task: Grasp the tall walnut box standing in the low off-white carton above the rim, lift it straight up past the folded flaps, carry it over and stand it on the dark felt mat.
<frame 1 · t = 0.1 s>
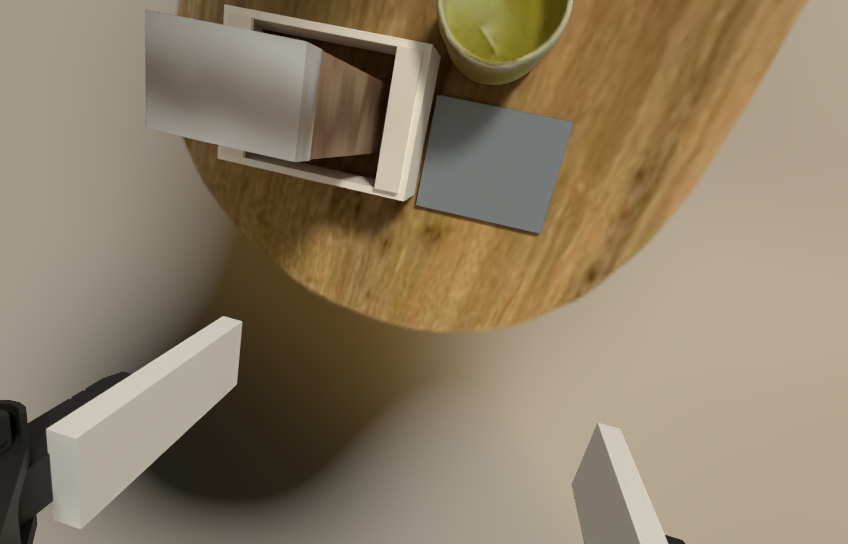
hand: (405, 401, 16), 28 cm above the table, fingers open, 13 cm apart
walnut box: (295, 101, 32), in the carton
mat: (490, 165, 40), on the table
mug: (518, 20, 36), on the table
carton: (338, 109, 40), on the table
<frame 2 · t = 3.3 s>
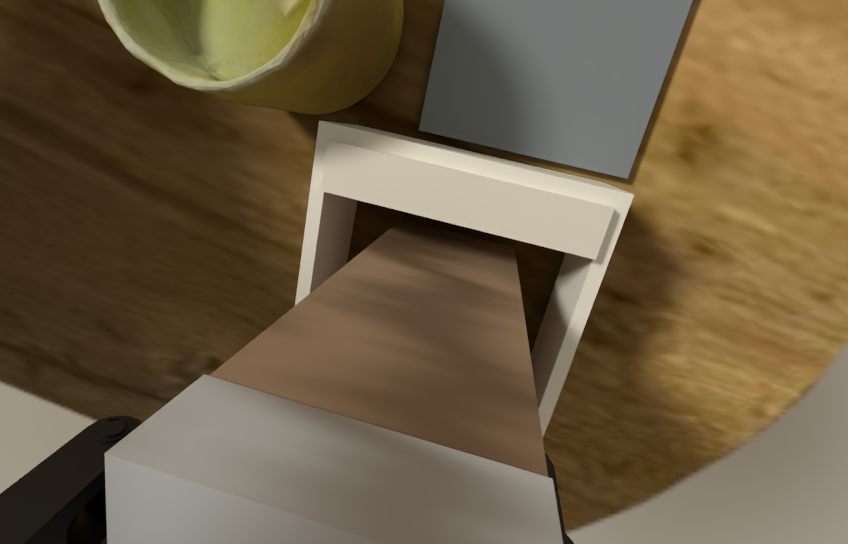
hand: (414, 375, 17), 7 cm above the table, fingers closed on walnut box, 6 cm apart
walnut box: (404, 405, 15), in the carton, touching gripper
mat: (559, 14, 19), on the table
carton: (437, 310, 24), on the table
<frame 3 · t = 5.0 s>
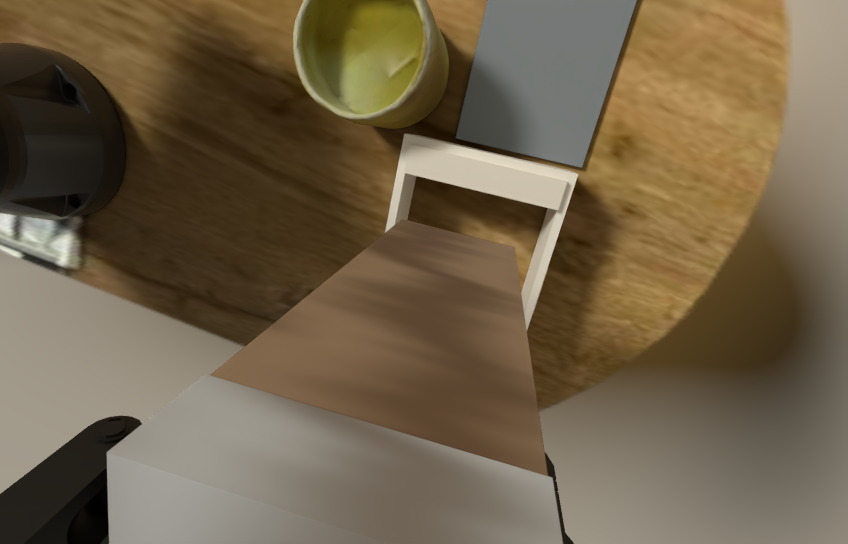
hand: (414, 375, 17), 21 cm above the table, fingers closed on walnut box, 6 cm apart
walnut box: (404, 405, 15), point 23 cm above the table, touching gripper
mat: (540, 71, 32), on the table
mug: (386, 47, 34), on the table
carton: (465, 253, 37), on the table
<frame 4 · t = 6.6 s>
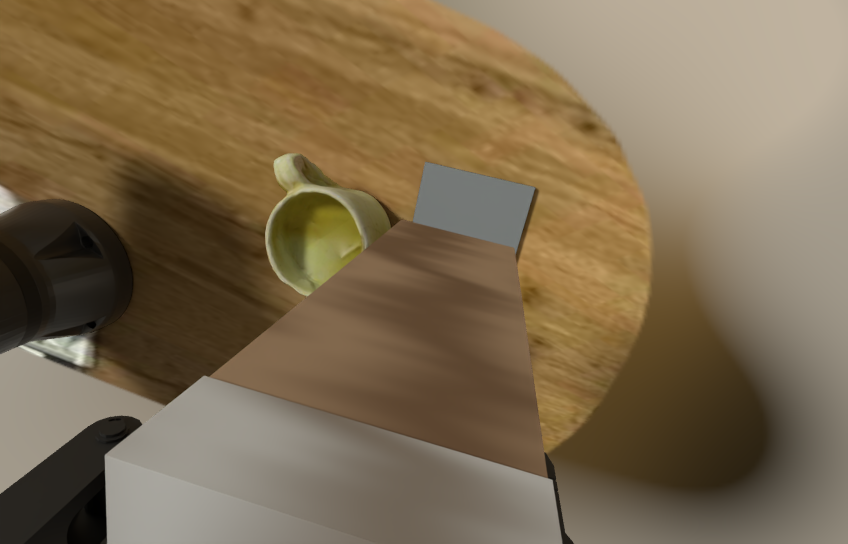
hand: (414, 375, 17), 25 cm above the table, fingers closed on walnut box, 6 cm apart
walnut box: (404, 406, 15), point 27 cm above the table, touching gripper
mat: (463, 237, 41), on the table
mug: (343, 213, 42), on the table
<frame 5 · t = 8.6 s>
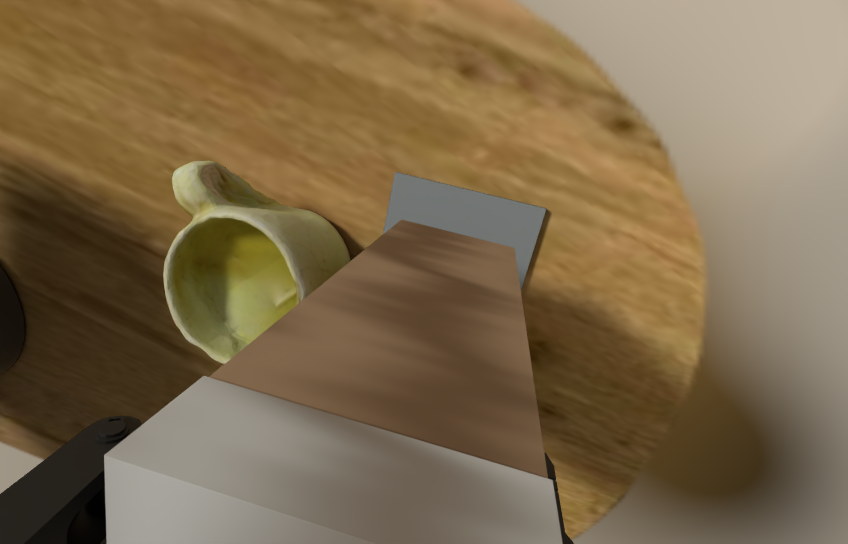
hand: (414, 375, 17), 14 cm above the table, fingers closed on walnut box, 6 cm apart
walnut box: (404, 406, 15), point 16 cm above the table, touching gripper
mat: (448, 274, 30), on the table
mug: (288, 239, 32), on the table
when the fingers open (8 cm above the table, at t = 10.0 s): walnut box stays where it is, resting on mat.
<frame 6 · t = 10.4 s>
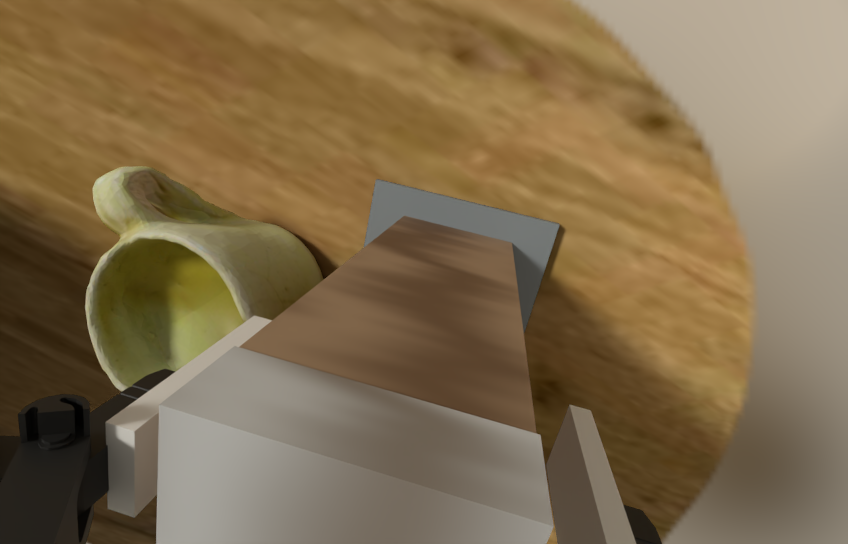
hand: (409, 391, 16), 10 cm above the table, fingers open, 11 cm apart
walnut box: (407, 389, 16), on the mat
mat: (441, 301, 25), on the table
mug: (252, 258, 27), on the table
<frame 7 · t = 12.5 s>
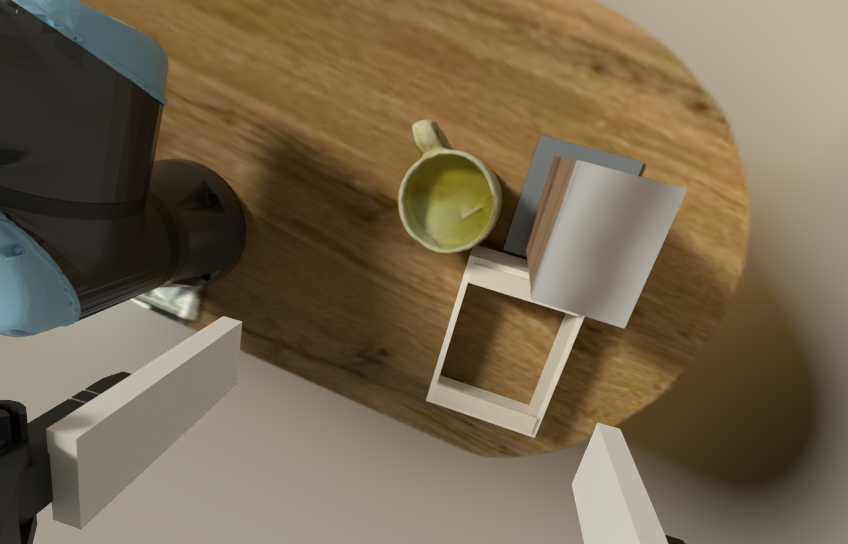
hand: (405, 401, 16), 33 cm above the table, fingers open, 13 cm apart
walnut box: (581, 223, 35), on the mat
mat: (568, 208, 44), on the table
mug: (454, 181, 45), on the table
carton: (504, 331, 49), on the table
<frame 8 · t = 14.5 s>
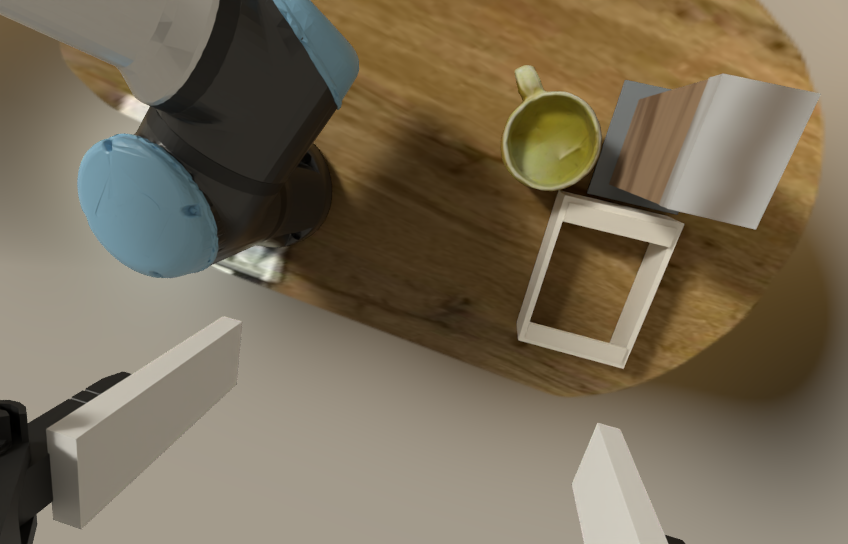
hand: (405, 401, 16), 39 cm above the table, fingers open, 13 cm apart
walnut box: (685, 151, 38), on the mat
mat: (651, 149, 47), on the table
mug: (540, 130, 48), on the table
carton: (586, 272, 52), on the table
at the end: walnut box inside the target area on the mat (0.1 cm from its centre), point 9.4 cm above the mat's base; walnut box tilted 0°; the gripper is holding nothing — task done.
